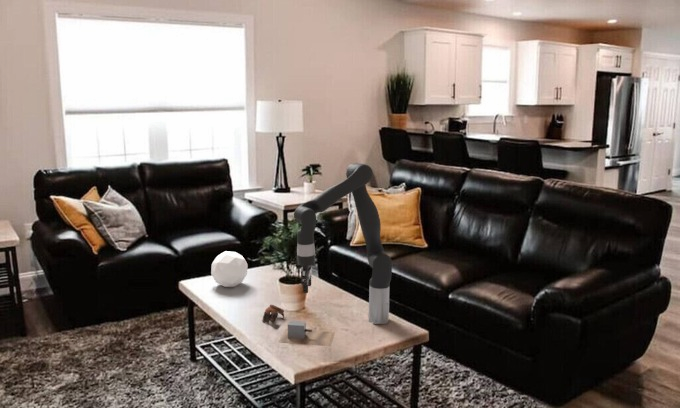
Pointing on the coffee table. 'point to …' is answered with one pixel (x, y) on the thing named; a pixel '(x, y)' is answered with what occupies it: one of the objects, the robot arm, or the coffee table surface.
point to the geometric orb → (229, 269)
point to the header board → (310, 338)
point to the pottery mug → (272, 313)
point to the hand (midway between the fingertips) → (307, 289)
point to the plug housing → (297, 329)
